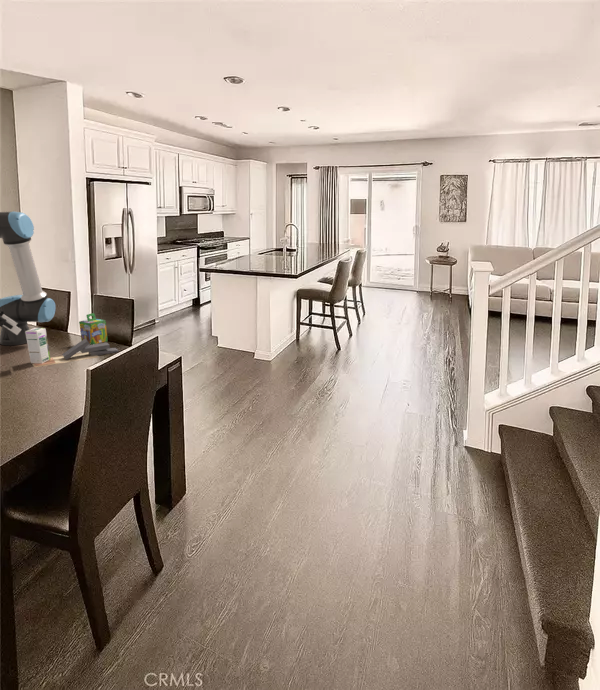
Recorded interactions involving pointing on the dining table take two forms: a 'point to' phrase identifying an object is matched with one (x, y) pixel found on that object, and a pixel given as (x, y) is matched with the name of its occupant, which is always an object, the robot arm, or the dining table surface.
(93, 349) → the domino
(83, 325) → the chalk box
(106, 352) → the domino
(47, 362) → the birch board
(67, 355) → the domino
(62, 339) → the dining table surface
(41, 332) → the syrup box
